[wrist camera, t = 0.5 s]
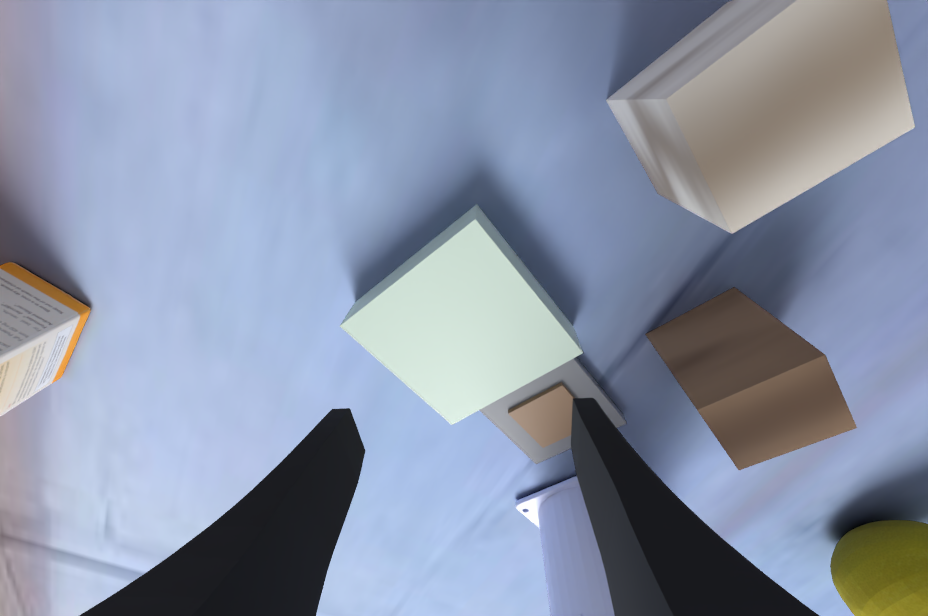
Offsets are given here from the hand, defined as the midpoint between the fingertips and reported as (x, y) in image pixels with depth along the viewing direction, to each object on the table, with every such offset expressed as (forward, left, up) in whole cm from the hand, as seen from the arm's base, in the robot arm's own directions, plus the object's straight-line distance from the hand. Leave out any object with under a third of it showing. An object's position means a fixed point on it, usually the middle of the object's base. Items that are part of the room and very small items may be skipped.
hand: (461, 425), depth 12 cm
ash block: (+1, -13, -10) cm, 16 cm away
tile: (-10, +1, -10) cm, 14 cm away
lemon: (-36, -12, -10) cm, 39 cm away
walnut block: (-11, -9, -10) cm, 17 cm away
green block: (-1, +1, -10) cm, 10 cm away
